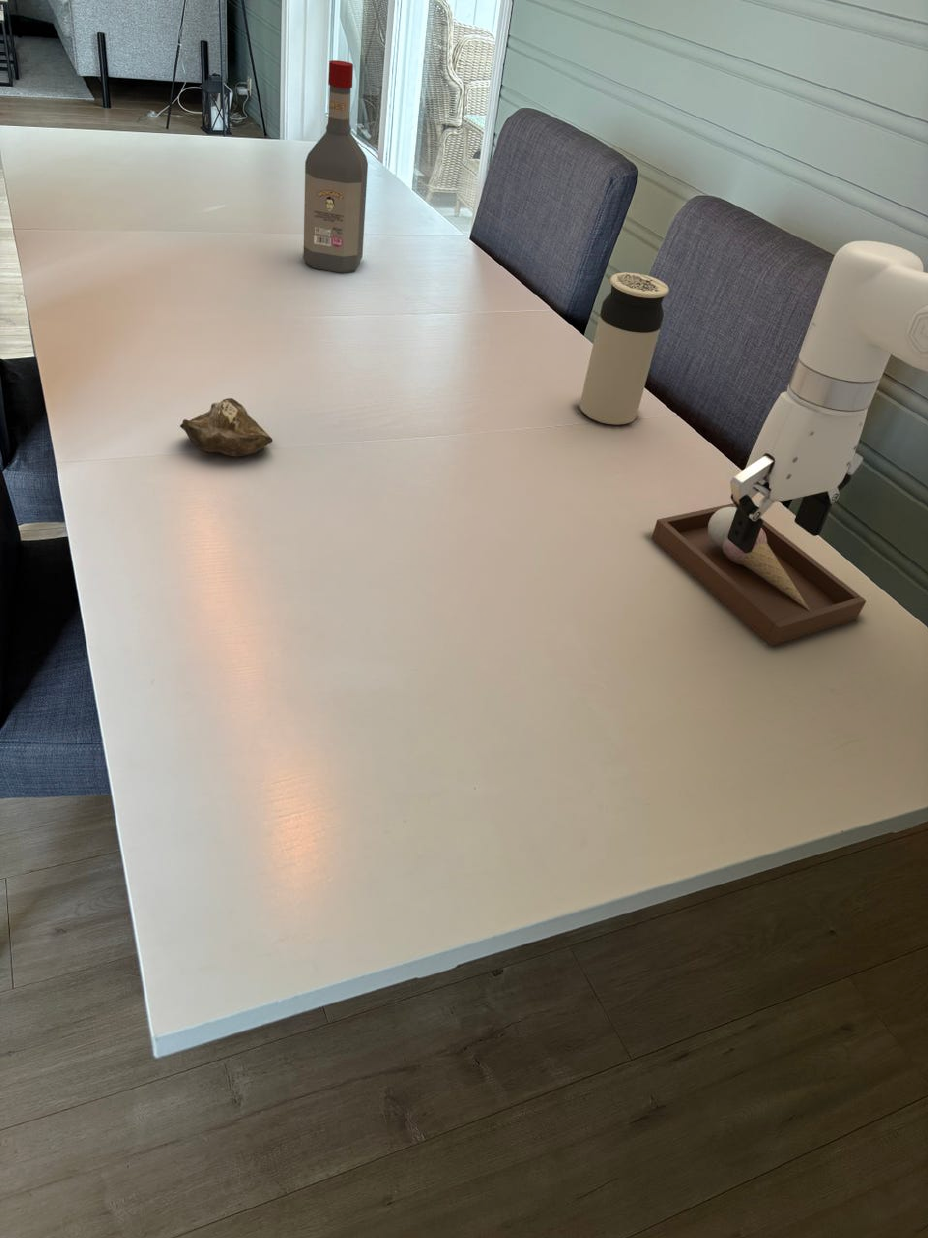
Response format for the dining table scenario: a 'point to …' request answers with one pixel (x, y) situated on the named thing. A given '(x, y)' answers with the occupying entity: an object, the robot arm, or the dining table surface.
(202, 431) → the fossilized seashell
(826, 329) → the robot arm
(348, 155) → the liquor
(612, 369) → the travel mug
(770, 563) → the ice cream cone
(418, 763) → the dining table surface
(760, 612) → the tray
